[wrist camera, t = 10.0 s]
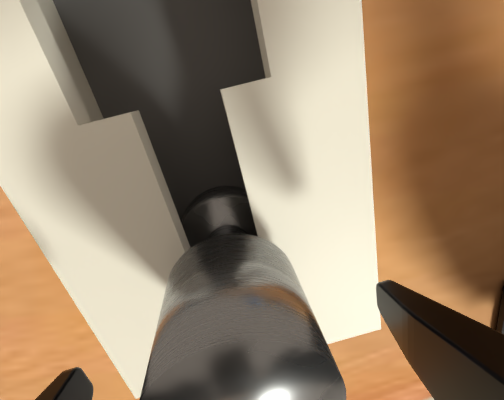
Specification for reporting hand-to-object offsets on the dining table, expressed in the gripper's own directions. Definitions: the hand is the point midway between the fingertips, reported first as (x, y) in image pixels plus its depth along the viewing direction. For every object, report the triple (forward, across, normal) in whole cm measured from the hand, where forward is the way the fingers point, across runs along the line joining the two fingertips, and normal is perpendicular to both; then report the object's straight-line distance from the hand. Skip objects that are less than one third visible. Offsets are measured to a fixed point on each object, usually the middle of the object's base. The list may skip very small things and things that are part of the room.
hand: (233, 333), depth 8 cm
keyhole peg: (+7, 0, 0) cm, 7 cm away
